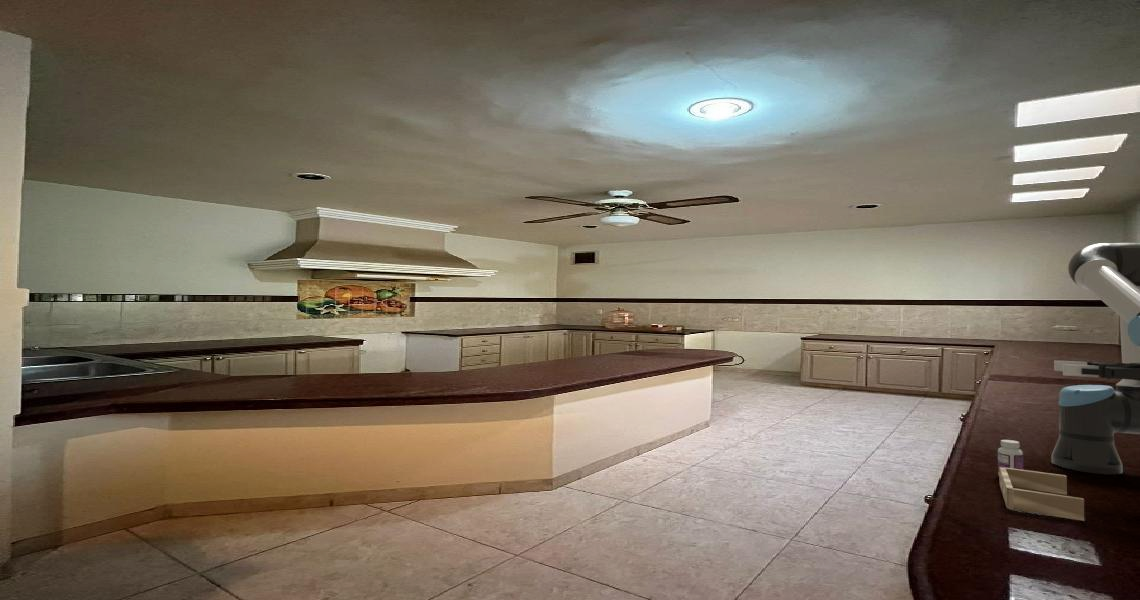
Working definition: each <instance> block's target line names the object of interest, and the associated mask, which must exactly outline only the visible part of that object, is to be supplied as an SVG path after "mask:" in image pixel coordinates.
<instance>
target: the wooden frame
mask: <svg viewBox="0 0 1140 600" xmlns="http://www.w3.org/2000/svg"><path fill="white" fill-rule="evenodd" d="M998 477H999V480H998V481H999V487H1000V490H1001V494H1002V497H1003V500H1004V504H1005V507H1006V509H1010V510H1011V509H1012V510H1016V511H1021V512H1028V513H1036V514H1041V515H1047V516H1053V517H1059V518H1065V519H1071V520H1076V521H1077V520H1078V521H1083V522H1084V521H1085V499H1084V498H1083V497H1076V496H1070V495H1068V489H1067V488H1068V484H1067V483H1068V479H1067V478H1068V477H1067V475H1065V474H1059V473H1058V474H1057V473H1052V472H1051V473H1050V472H1042V471H1035V470H1028V469H1023V470H1021V469H1013V468H1006V467H999V475H998Z"/></svg>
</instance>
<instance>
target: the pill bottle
mask: <svg viewBox="0 0 1140 600" xmlns="http://www.w3.org/2000/svg"><path fill="white" fill-rule="evenodd" d="M1020 445H1021V444H1020V442H1019V441H1017V440H1011V439H1001V440H1000V446H1001V447H999V448H997V472H998V473H997V474H998V476H999V467H1006V468H1013V469H1021V470H1024V453H1023V451H1022V449H1020V447H1021V446H1020Z"/></svg>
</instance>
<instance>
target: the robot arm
mask: <svg viewBox="0 0 1140 600" xmlns="http://www.w3.org/2000/svg"><path fill="white" fill-rule="evenodd" d="M1067 269H1068V275H1069V277H1070V279H1071V280H1072V281H1073V283H1075V284H1076V285H1077V286H1078V287H1079V288H1081V289H1083V290H1088V291H1090V292H1091V293H1093V294H1094V295H1095V296H1096V297H1097V298H1098V299H1099V300H1101V301H1102V302H1103V303H1104V304H1105V305H1106V306H1107V307H1109V309H1111V310H1112V311H1113V312H1114V313H1115V314H1116V315H1118V316H1119V326H1120V344H1121V345H1120V346H1121V347H1120V348H1121V362H1117V363H1111V362H1109V363H1108V362H1098V361H1097V362H1095V361H1074V360H1071V361H1070V360H1053V364H1054V366H1053V368H1054V369H1053V371H1054V372H1062V376H1067V377H1069V376H1070V377H1084V378H1086V377H1087V378H1088V377H1089V378H1102V379H1107V380H1110V379H1112V380H1113V379H1115V380H1116V379H1117V380H1118V379H1119V380H1120V381H1119V382H1117V383H1115V389H1114V387H1113V386H1111V385H1103V384H1077V385H1070V386H1069V385H1068V386H1065V387H1063V388H1061V390H1059V397H1058V402H1057V403H1058V429H1059V430H1058V432H1059V433H1058V434H1059V435H1058V436H1059V437H1058V439H1057V442H1056V443H1055V447H1054V448H1053V450H1052V453H1051V463H1052V465H1054V464H1055V465H1054V466H1057V465H1058V466H1057V467H1060V466H1061V467H1060V468H1064V469H1068V470H1071V469H1072V470H1071V471H1077V472H1081V473H1082V472H1083V473H1089V474H1096V475H1097V474H1098V475H1121V474H1123V471H1124V470H1123V466H1124V465H1123V462H1122V461H1121V458H1120V455H1119V453H1118V451H1117V448H1116V445H1115V433H1116V434H1117V433H1119V434H1132V435H1133V434H1136V435H1137V434H1138V435H1140V242H1135V241H1134V242H1115V243H1114V242H1099V243H1093V244H1090V245H1088V246H1085V247H1083V248H1081V249H1079V250H1078V251H1077V252H1075V253H1074V254H1073V256H1072V257H1071V259H1070V260H1069V263H1068V268H1067Z"/></svg>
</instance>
